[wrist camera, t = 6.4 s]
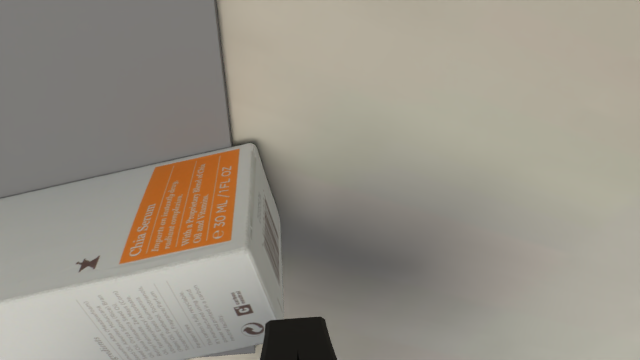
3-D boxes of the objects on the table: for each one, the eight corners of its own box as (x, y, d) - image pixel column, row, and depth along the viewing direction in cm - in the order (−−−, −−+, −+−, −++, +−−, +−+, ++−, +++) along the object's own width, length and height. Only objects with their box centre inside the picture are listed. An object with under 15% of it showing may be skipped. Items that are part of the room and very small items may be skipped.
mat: (255, 344, 25) (255, 352, 24) (66, 359, 24) (62, 367, 23) (186, -256, 11) (182, -261, 10) (-275, -275, 10) (-299, -281, 9)
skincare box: (251, 246, 12) (-180, 345, 12) (289, 341, 14) (-69, 420, 14) (253, 134, 17) (-52, 205, 17) (282, 219, 19) (15, 280, 19)
